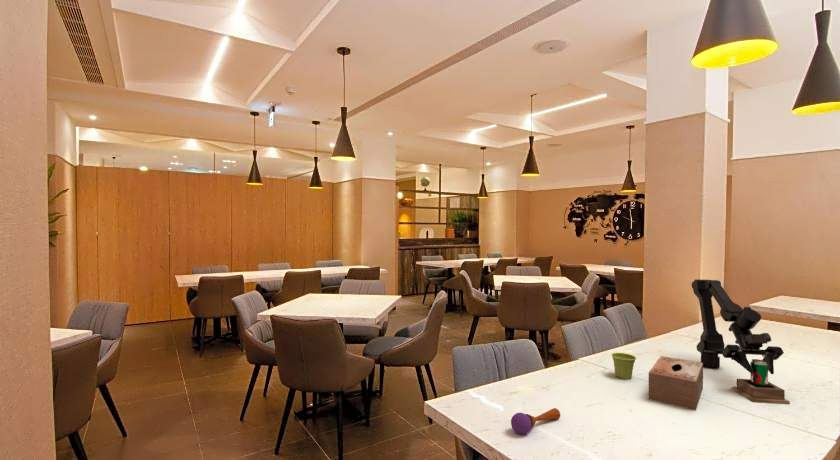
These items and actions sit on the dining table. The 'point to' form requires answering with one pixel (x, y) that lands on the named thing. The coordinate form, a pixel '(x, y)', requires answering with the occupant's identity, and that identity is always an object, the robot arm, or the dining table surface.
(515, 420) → the kendama
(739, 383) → the socket block
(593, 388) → the dining table surface
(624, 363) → the plant pot
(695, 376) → the tissue box cover
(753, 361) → the soda can
